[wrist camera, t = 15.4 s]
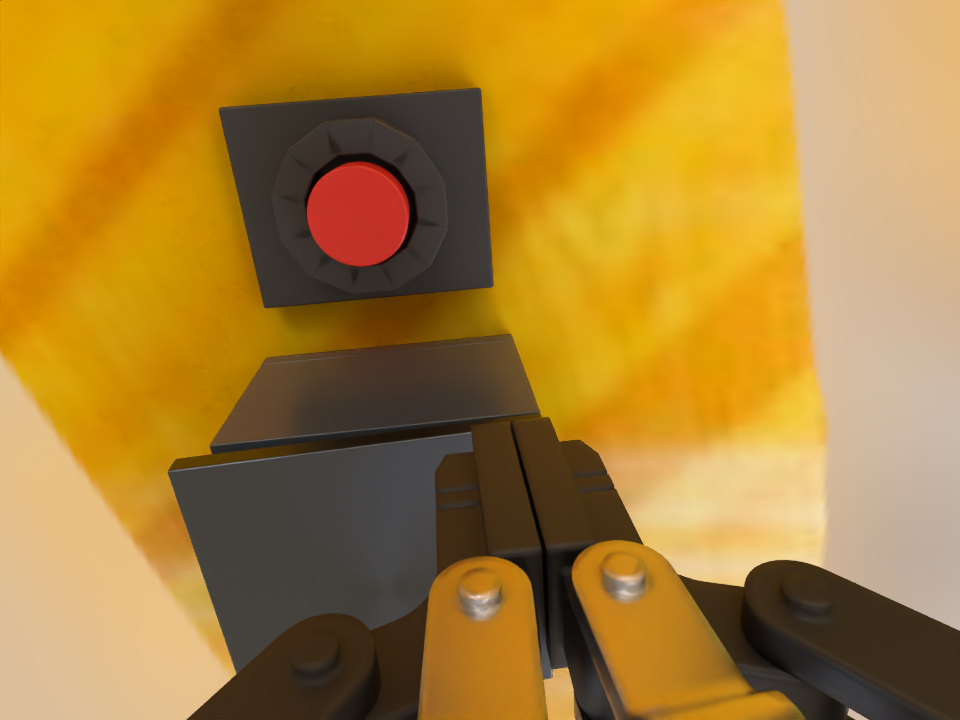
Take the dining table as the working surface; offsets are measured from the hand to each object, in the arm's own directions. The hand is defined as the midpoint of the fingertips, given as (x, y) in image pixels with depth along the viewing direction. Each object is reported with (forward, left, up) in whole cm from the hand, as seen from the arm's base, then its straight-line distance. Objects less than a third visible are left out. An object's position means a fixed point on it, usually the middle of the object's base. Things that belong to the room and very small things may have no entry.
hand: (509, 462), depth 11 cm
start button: (-3, -4, -14) cm, 15 cm away
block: (-3, -4, -16) cm, 17 cm away
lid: (+10, -4, -8) cm, 14 cm away
